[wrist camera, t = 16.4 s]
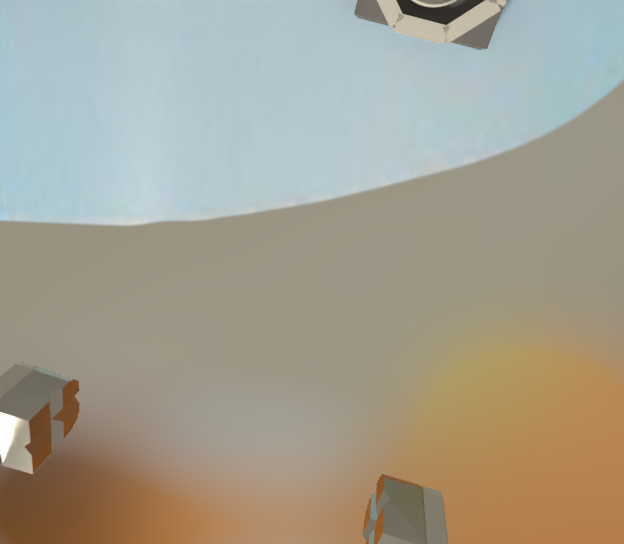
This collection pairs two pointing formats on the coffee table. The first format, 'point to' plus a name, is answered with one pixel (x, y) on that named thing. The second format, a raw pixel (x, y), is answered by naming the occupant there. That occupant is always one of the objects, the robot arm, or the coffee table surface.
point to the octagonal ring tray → (437, 19)
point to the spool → (433, 3)
